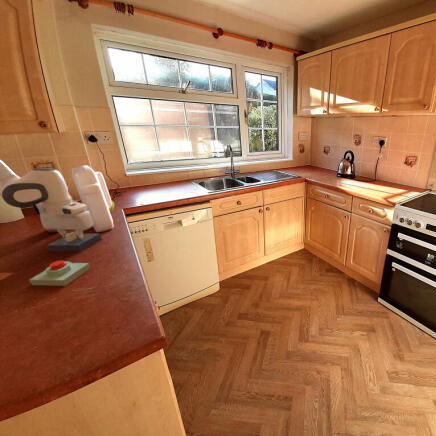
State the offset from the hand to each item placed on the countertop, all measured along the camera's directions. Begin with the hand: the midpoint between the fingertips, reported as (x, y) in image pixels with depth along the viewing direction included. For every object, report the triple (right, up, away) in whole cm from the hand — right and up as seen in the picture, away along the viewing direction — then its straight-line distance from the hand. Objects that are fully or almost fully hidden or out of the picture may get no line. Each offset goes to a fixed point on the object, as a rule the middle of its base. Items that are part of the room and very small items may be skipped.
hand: (73, 237), depth 104 cm
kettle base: (+14, -12, -20) cm, 27 cm away
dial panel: (0, -3, +1) cm, 4 cm away
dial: (0, -1, 0) cm, 1 cm away
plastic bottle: (-23, +2, +16) cm, 28 cm away
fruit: (-13, +10, +36) cm, 40 cm away
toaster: (-3, +5, +22) cm, 23 cm away
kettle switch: (+14, -8, -22) cm, 27 cm away
